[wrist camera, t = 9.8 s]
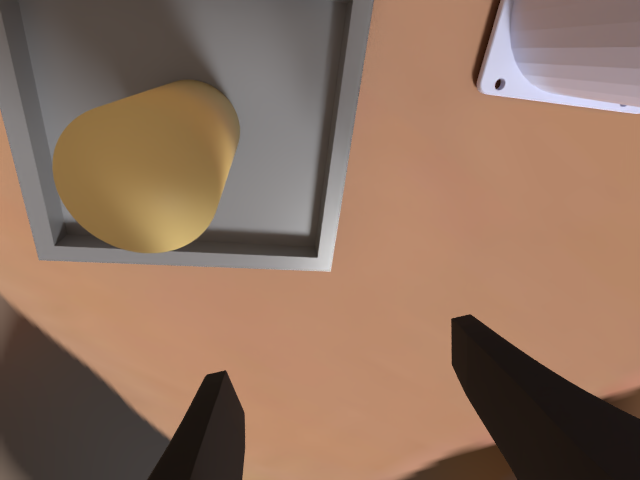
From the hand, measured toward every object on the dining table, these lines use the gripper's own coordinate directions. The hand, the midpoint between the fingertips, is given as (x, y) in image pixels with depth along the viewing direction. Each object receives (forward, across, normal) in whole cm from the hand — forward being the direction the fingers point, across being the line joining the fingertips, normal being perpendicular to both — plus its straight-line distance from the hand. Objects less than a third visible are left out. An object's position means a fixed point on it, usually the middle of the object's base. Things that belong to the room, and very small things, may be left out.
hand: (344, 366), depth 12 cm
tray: (+10, +4, -7) cm, 13 cm away
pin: (+9, +4, -7) cm, 12 cm away
